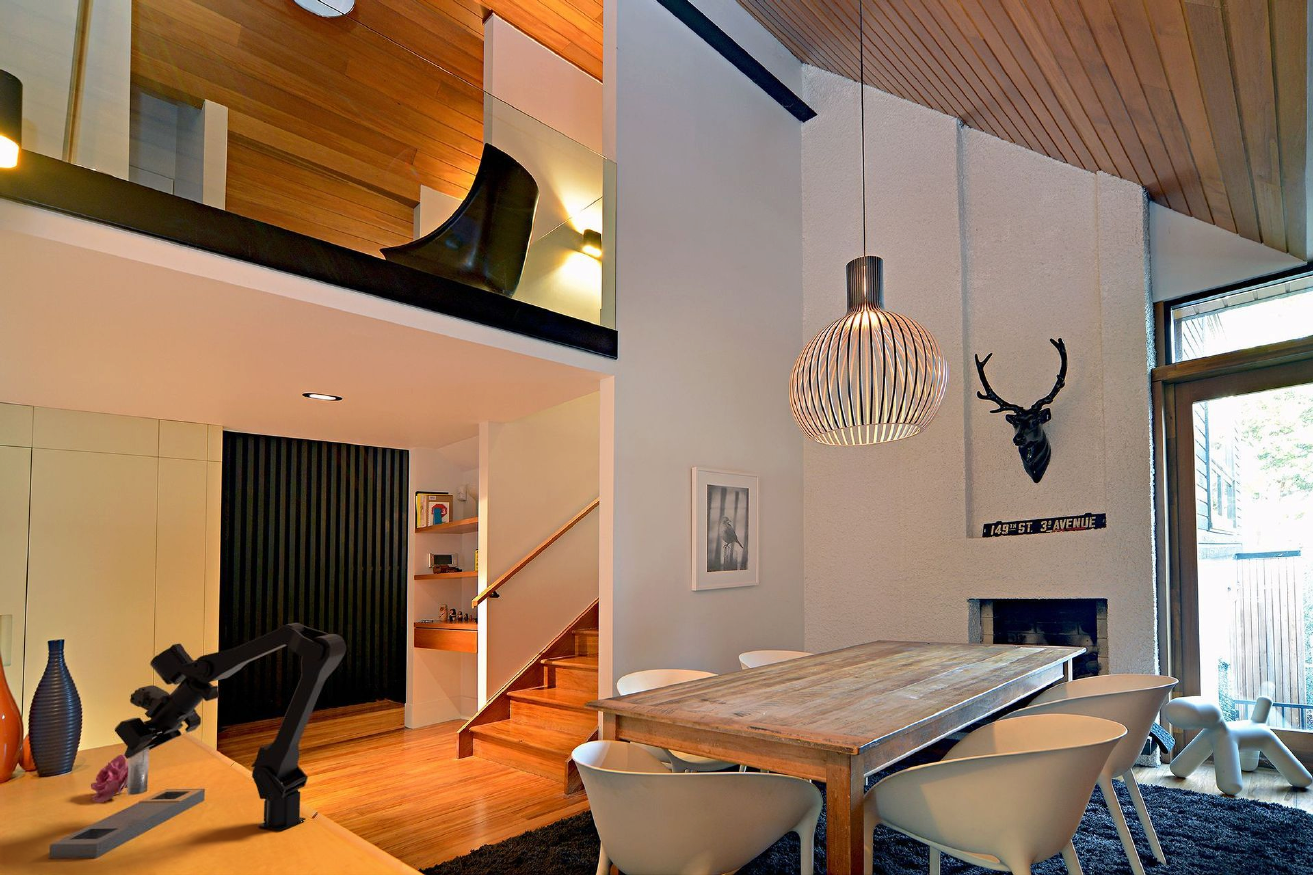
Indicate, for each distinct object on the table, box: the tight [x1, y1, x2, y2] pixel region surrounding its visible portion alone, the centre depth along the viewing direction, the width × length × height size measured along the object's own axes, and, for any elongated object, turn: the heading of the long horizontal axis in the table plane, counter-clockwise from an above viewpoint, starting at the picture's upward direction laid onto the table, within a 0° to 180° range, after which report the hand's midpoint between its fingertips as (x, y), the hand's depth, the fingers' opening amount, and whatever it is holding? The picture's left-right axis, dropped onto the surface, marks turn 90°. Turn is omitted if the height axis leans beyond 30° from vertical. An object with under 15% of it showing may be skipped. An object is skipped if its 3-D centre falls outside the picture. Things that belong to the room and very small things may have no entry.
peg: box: [126, 720, 150, 796], centre depth 168 cm, size 4×4×14 cm
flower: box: [90, 753, 129, 804], centre depth 185 cm, size 11×10×10 cm
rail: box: [48, 788, 206, 859], centre depth 164 cm, size 33×9×3 cm, turn 178°
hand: (133, 754), depth 169 cm, fingers closed on peg, 4 cm apart
